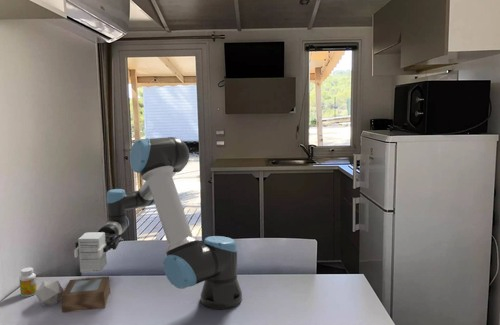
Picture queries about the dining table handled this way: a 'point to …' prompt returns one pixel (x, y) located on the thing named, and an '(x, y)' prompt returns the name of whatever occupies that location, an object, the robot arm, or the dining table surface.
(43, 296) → the die
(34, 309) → the dining table surface
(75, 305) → the walnut plinth
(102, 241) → the supplement box
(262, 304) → the dining table surface
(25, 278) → the supplement bottle
